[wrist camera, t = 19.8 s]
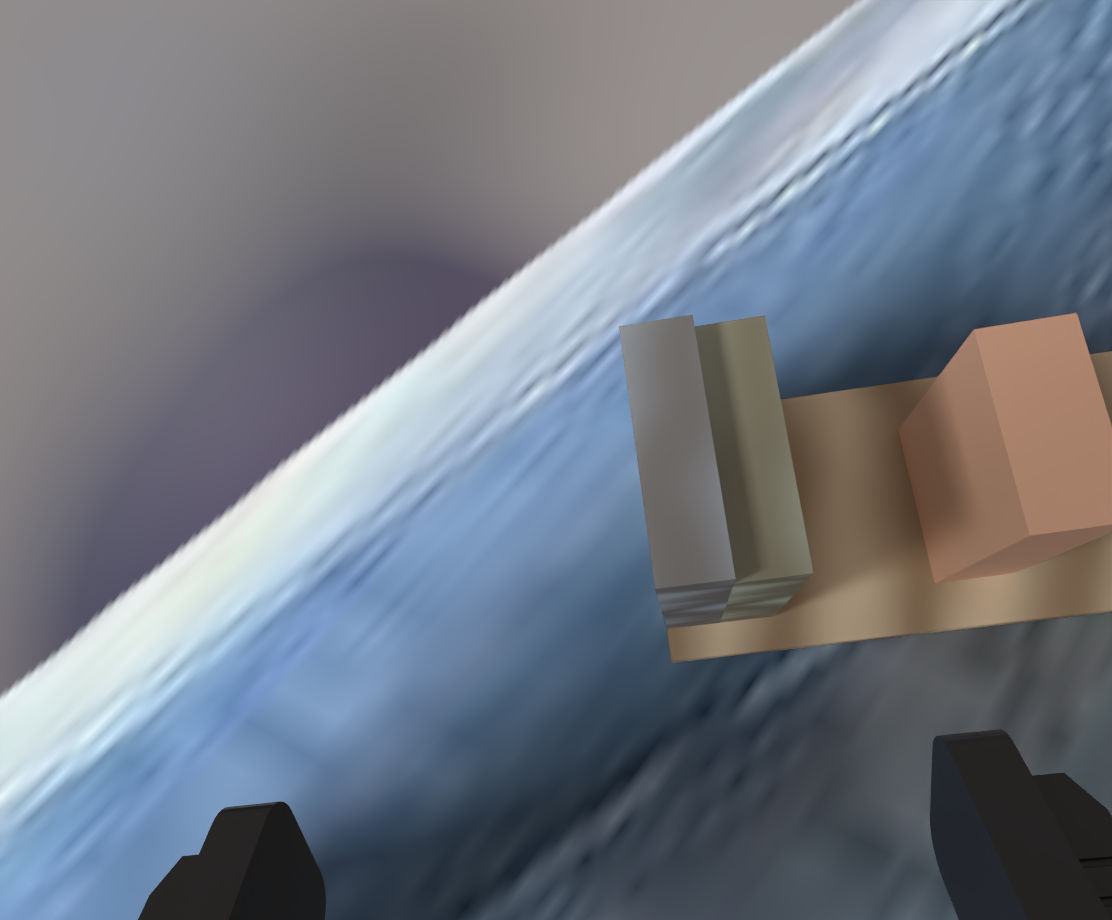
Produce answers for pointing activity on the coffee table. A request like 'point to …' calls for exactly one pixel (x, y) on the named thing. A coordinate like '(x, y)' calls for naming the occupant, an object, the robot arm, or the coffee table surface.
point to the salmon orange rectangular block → (1011, 451)
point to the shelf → (803, 506)
